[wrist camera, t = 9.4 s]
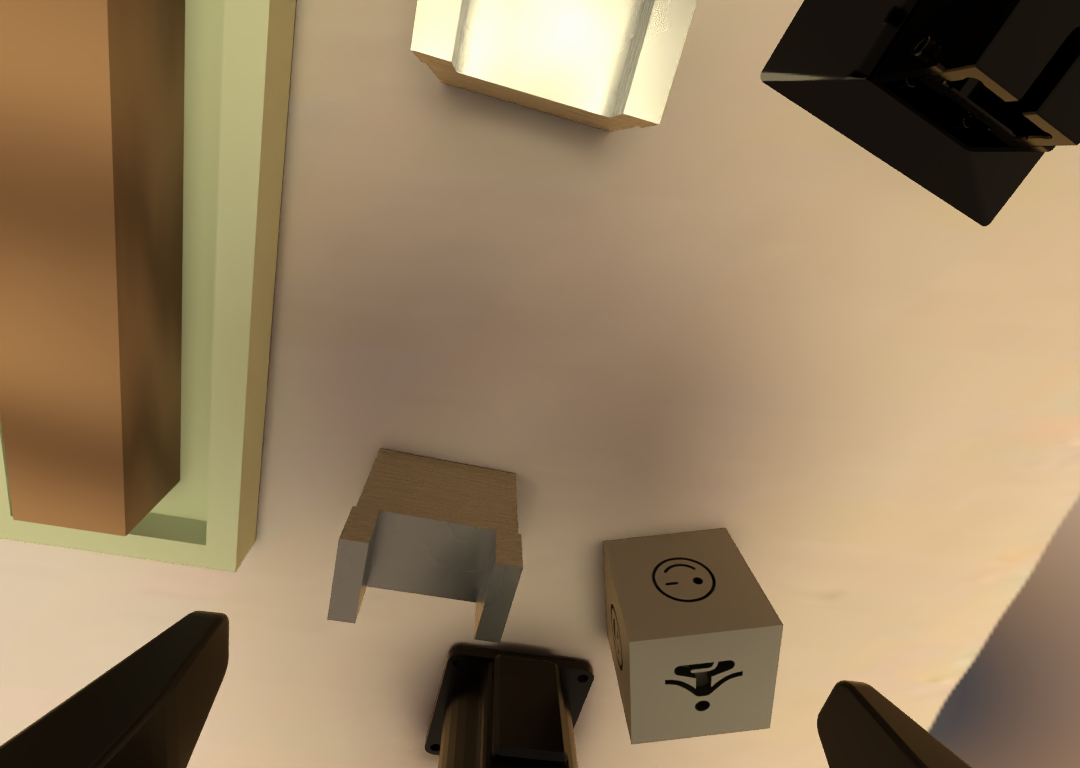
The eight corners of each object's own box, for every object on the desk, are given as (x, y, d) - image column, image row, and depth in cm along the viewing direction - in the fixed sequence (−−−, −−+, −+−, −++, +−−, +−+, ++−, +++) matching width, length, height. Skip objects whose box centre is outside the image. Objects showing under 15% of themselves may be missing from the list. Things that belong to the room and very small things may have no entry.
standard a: (500, 537, 21) (499, 642, 17) (365, 515, 21) (327, 619, 16) (518, 474, 20) (522, 567, 16) (377, 448, 20) (339, 538, 15)
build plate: (697, 79, 16) (766, 54, 12) (857, -210, 14) (1012, -368, 10) (987, 268, 19) (1124, 301, 15) (1159, 56, 17) (1379, 24, 13)
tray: (255, 540, 21) (235, 572, 19) (21, 504, 20) (-20, 535, 18) (315, -259, 12) (289, -319, 11) (-87, -411, 11) (-183, -503, 10)
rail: (180, 481, 19) (125, 536, 16) (85, 465, 19) (13, 519, 16) (186, -175, 12) (97, -268, 10) (41, -224, 12) (-96, -337, 9)
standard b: (614, 132, 16) (659, 124, 11) (437, 80, 15) (410, 49, 11) (646, 15, 15) (711, -46, 10) (459, -47, 14) (438, -143, 10)
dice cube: (724, 526, 22) (783, 624, 18) (718, 618, 24) (769, 728, 20) (602, 539, 22) (629, 642, 17) (606, 630, 24) (631, 744, 19)
